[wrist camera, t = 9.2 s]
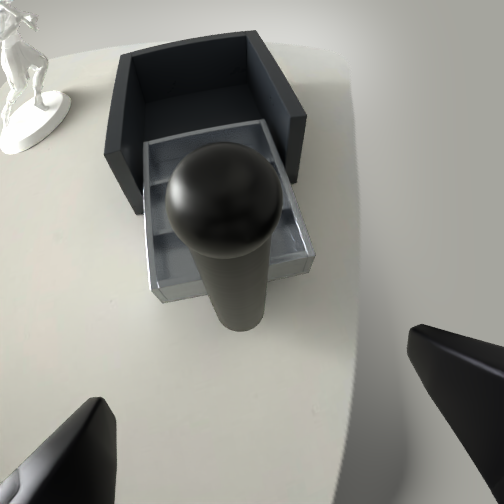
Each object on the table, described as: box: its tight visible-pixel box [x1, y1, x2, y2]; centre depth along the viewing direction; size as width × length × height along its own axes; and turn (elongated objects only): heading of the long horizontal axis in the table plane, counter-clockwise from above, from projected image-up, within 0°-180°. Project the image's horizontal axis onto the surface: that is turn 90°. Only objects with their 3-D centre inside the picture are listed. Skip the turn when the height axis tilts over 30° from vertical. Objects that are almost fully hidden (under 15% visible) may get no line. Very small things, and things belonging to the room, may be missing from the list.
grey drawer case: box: [104, 30, 307, 215], centre depth 21 cm, size 12×11×6 cm
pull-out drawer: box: [143, 119, 316, 332], centre depth 13 cm, size 13×8×11 cm, turn 13°
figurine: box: [0, 0, 71, 154], centre depth 18 cm, size 10×10×18 cm
